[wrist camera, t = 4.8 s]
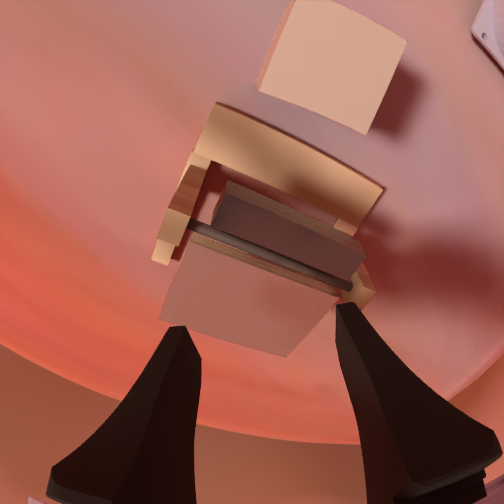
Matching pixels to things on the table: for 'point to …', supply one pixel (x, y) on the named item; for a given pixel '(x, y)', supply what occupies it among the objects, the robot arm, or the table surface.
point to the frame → (276, 175)
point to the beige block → (331, 62)
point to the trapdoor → (259, 275)
